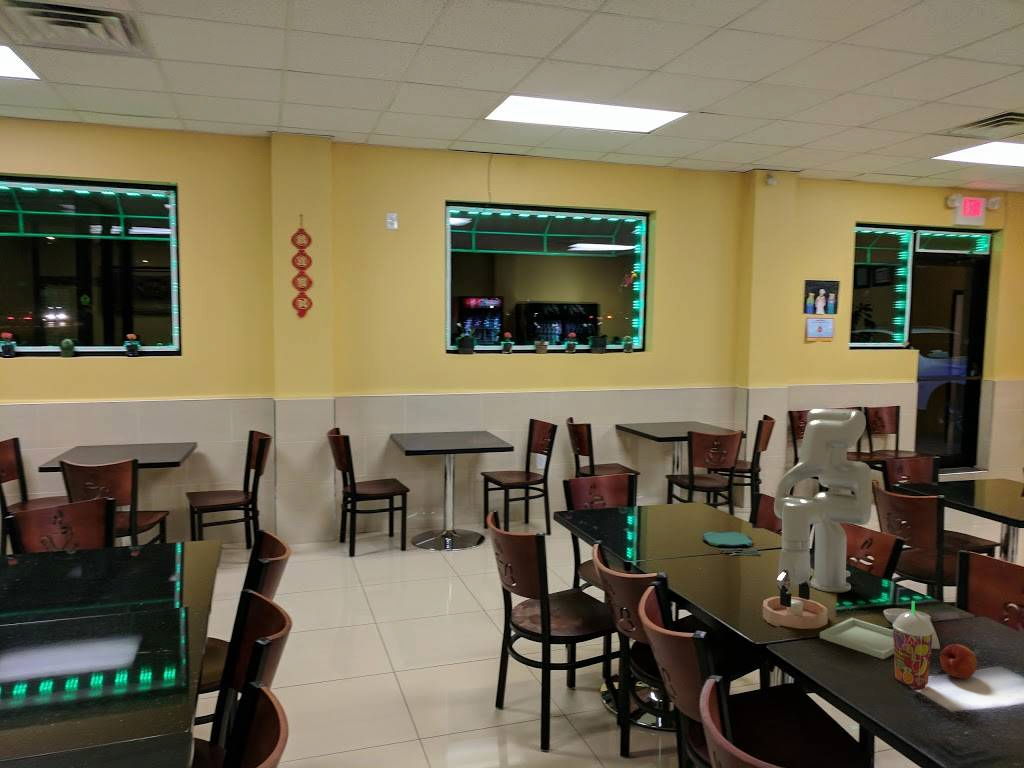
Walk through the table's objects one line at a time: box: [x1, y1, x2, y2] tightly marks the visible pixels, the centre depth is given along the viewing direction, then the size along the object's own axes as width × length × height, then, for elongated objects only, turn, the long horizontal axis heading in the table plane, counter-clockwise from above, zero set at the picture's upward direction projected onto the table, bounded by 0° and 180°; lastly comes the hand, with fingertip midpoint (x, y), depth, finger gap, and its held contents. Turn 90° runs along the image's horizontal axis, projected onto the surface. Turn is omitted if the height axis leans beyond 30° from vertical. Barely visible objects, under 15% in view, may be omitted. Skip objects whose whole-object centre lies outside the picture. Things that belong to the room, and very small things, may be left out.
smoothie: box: [892, 600, 933, 691], centre depth 168 cm, size 8×8×20 cm
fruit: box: [939, 643, 978, 680], centre depth 172 cm, size 8×8×8 cm
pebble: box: [787, 599, 803, 617], centre depth 208 cm, size 4×4×4 cm
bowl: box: [762, 595, 829, 630], centre depth 208 cm, size 17×17×4 cm
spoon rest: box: [883, 607, 941, 650], centre depth 198 cm, size 24×12×7 cm, turn 170°
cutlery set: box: [702, 531, 762, 556], centre depth 288 cm, size 20×30×2 cm, turn 177°
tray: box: [819, 617, 894, 660], centre depth 192 cm, size 17×17×2 cm
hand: (794, 602), depth 208 cm, fingers open, 9 cm apart
